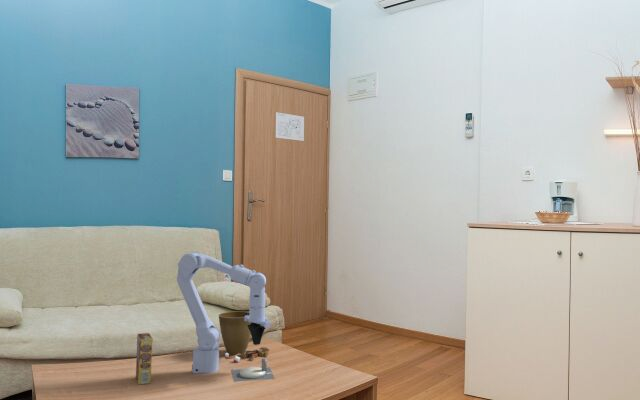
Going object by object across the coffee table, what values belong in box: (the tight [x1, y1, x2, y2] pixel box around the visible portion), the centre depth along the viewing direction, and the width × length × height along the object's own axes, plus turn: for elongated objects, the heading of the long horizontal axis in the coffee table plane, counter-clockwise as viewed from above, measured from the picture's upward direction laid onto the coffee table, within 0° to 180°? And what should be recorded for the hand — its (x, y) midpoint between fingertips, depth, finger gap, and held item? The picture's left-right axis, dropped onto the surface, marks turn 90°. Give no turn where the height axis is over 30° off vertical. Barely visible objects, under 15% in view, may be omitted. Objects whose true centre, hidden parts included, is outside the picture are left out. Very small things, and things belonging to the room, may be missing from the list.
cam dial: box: [240, 357, 268, 378], centre depth 178 cm, size 9×9×5 cm
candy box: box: [135, 332, 154, 385], centre depth 174 cm, size 9×4×15 cm, turn 26°
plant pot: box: [218, 310, 252, 356], centre depth 209 cm, size 15×15×16 cm
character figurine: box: [224, 346, 270, 364], centre depth 200 cm, size 10×18×4 cm, turn 129°
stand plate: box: [231, 367, 276, 383], centre depth 178 cm, size 14×13×1 cm
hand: (256, 344), depth 183 cm, fingers closed
